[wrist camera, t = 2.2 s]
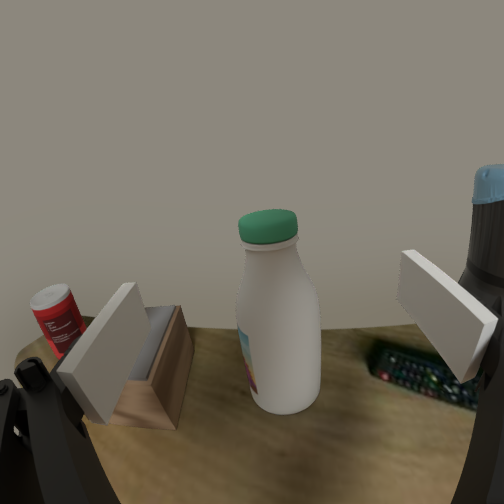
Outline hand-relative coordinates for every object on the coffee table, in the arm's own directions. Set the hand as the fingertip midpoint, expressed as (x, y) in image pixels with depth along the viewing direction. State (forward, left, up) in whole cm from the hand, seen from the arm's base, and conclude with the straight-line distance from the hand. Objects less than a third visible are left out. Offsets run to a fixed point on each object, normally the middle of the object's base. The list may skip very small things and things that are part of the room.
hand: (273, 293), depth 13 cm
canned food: (+34, -19, -19) cm, 43 cm away
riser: (+18, -12, -19) cm, 28 cm away
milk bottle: (0, -10, -19) cm, 21 cm away
